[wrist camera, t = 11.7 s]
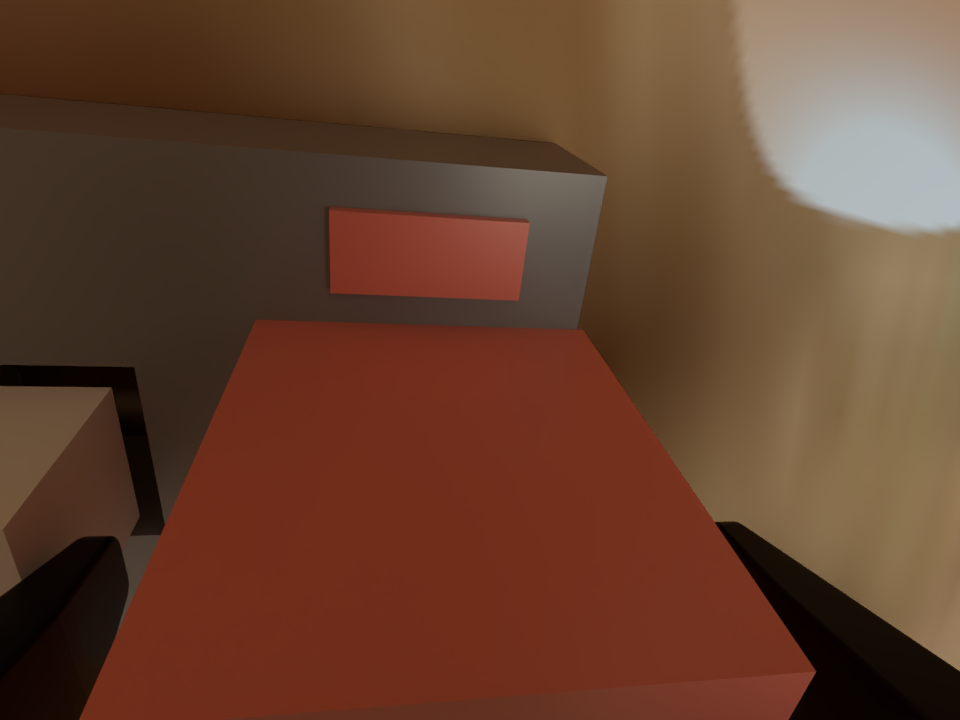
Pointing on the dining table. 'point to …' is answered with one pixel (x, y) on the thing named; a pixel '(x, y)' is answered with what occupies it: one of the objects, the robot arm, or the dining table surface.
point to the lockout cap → (440, 547)
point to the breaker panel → (261, 249)
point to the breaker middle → (59, 474)
